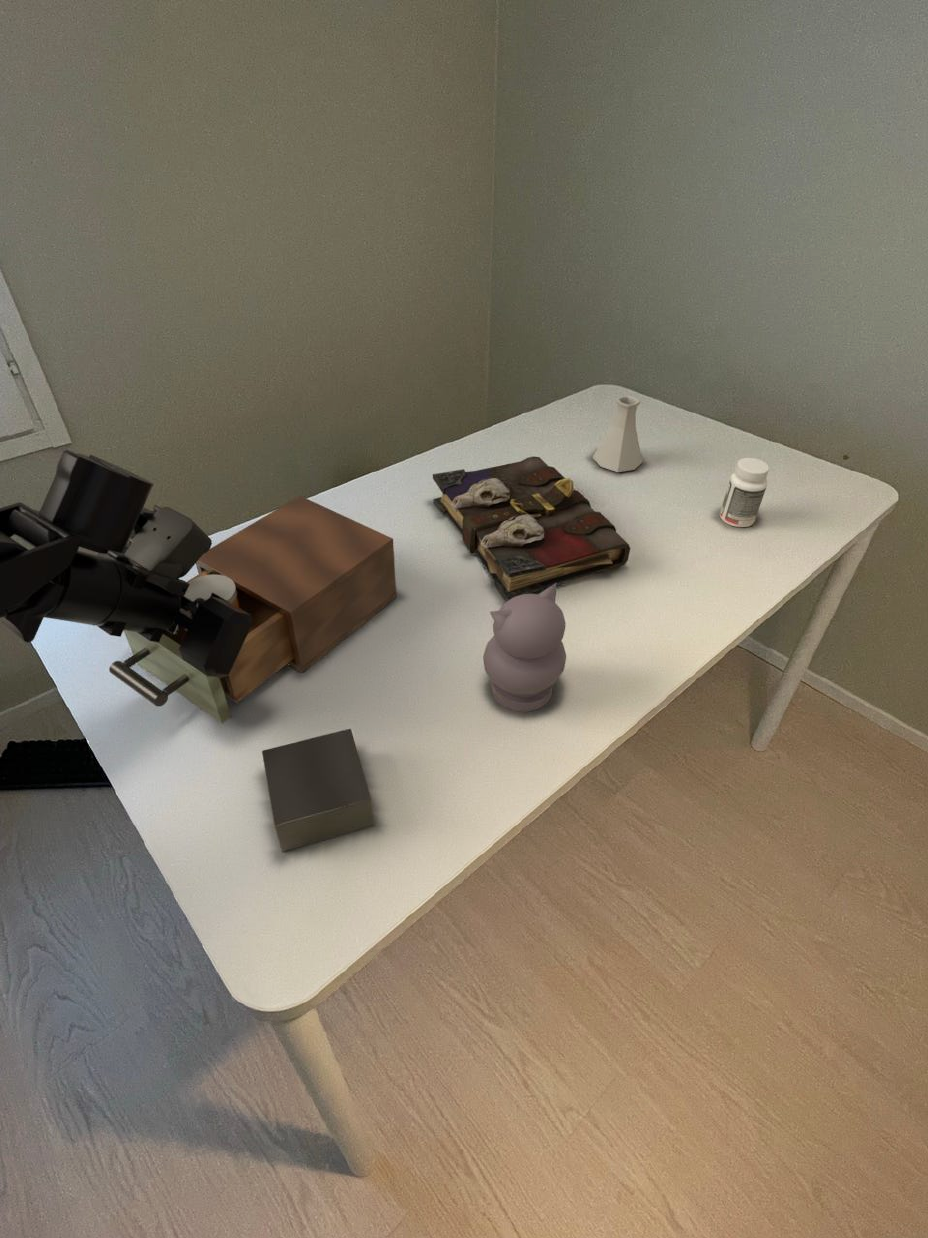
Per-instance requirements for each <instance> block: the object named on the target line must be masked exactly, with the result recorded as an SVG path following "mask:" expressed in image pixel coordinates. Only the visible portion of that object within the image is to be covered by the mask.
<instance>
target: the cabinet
mask: <svg viewBox="0 0 928 1238" xmlns="http://www.w3.org/2000/svg"><path fill="white" fill-rule="evenodd" d="M195 566H196V570H197V574H200V573H202V572H203V571H205V570H207V571H209V572H211V573H212V574H215V575H223V576H226V577H228V578H230V579H231V580H232V581H233V582H234V583H235V586H236V587H237V588H239V589H240V590H242V591H244V592H246V593H247V594H249V595H251V596H253V597H254V598H256V599H258V600H260V601H261V602H263V603H265V604H267V605H268V606H270V607H272V608H274V609H275V610H277V611H279V612H281V613H282V614H284V615H286V617H287V622H288V627H289V632H290V637H291V642H292V647H293V652H294V657H295V658H294V659H293V660H291V661H290V662H289V663H287V664H286V665H288V666H289V667H291V668H293V669H295V670H296V671H298V672H300V673H301V674H304V673H305V671H307V670H308V669H310V667H312V666H313V665H314V664H316V663H317V662H318V661H319V660H321V659H322V658H323V657H324V656H325V655H327V654H328V653H329V652H330V651H332V650H333V649H334V648H335V647H336V646H338V645H340V643H342V642H343V641H345V639H347V638H348V637H349V636H350V635H352V634H353V633H354V632H355V631H356V630H358V629H360V628H361V627H362V626H363V625H364V624H366V623H367V622H368V621H370V619H372V618H373V617H374V616H375V615H376V614H378V613H379V612H380V611H382V610H383V609H384V608H386V606H388V605H389V604H390V603H391V602H393V601H394V600H395V599H396V598H397V583H396V566H395V549H394V538H393V537H390V536H388V535H387V534H384V533H381V532H380V531H377V530H376V529H373V528H371V527H368V526H367V525H365V524H362V523H360V522H358V521H356V520H354V519H352V518H349V517H347V516H345V515H343V514H341V513H338V512H337V511H335V510H332V509H330V508H328V507H325V506H323V505H321V504H319V503H318V502H315V501H313V500H310V499H309V498H307V497H304V496H302V495H298V496H297V497H295V498H293V499H292V500H289V501H288V502H286V503H285V504H283V505H281V506H280V507H278V508H276V509H275V510H273V511H271V512H270V513H268V514H267V515H264V516H263V517H261V518H260V519H258V520H256V521H254V522H253V523H251V524H250V525H248V526H246V527H244V528H243V529H240V530H239V531H238V532H235V533H233V535H231V536H229V537H228V538H226V539H224V540H222V541H221V542H218V543H217V544H215V545H214V546H211V547H210V549H209V550H208V552H207V553H205V554H203V555H202V556H201V557H200V559H199V560H198V561H197V562H196V563H195Z"/></svg>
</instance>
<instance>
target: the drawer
mask: <svg viewBox="0 0 928 1238" xmlns="http://www.w3.org/2000/svg"><path fill="white" fill-rule="evenodd" d="M205 575H213V574H212V573H211V572H209V571H207V570H205V571H203V572H202V573H200V574H199V573H197V575H195V576H193V577H192V578H190V579H189V580H187V581H186V582H187V583H189V582H190V581H192V580H193V579H196V578H198V577H201V576H205ZM236 590H237V598H238V602H239V606H240V609H242V610H243V611H245V612H247V613H249V614H250V615H251V617H252V622H253V624H252V626H251V628H250V630H249V632H248V635H247V637H246V639H245V641H244V643H243V645H242V648H241V650H240V652H239V654H238V656H237V658H236V661H235V663H234V665H233V667H232V669H231V671H230V674H229V675H227V676H225V677H223V678H220V677H210V676H206V675H205V674H203V673H202V672H200V671H199V670H197V669H196V668H194V667H193V666H191V665H190V664H188V663H187V662H185V661H184V660H182V657H181V654H180V651H179V648H180V646H181V644H182V641H183V639H184V637H185V635H186V633H187V630H185V628H183V627H182V626H180V628H179V631H178V633H177V634H172V633H170V632H169V631H167V630H166V629H165V630H164V633H163V635H162V637H161V639H160V641H159V642H152V641H149V640H148V639H146V638H145V637H143V636H142V635H140V634H139V633H137V632H133V631H127V630H123V633H124V636H125V638H126V640H127V643H128V645H129V649H130V650H131V652H132V655H131V656H130V657H128V658H127V659H125V660H124V661H121V660H116V661H114V662H112V663H111V664H110V666H109V668H108V669H109V670H108V671H109V673H110V674H111V675H112V676H114V677H115V678H117V679H118V680H120V681H121V682H122V683H124V684H125V685H127V686H128V687H129V688H131V689H132V690H133V691H135V692H136V693H137V694H139V695H140V696H142V697H143V698H144V699H145V700H147V701H148V702H149V703H151V704H152V705H154V706H155V707H157V708H159V707H163V706H164V705H165V704H167V702H168V700H169V696H170V695H172V694H173V693H174V692H176V693H177V694H179V695H180V696H182V697H183V698H184V699H186V700H187V701H189V702H190V703H192V704H193V705H195V706H196V707H197V708H198V709H200V710H202V711H203V712H204V713H206V714H207V715H209V716H210V717H211V718H213V719H215V720H216V722H217V721H218V722H219V723H220V724H224V723H225V722H227V721H228V720H229V719H231V718H232V713H231V710H230V708H229V704H228V701H227V698H229V699H230V700H231V701H233V702H235V703H239V702H240V701H242V699H244V698H245V697H246V696H248V695H249V694H250V693H252V692H253V691H254V690H256V689H257V688H258V687H259V686H260V685H262V684H263V683H264V682H266V681H268V679H269V678H271V677H272V676H274V675H275V674H276V673H277V672H278V671H280V670H281V669H282V668H284V667H285V666H286V665H288V664H287V663H289V662H290V661H291V660H293V659H294V658H295V657H294V652H293V647H292V642H291V637H290V632H289V627H288V622H287V617H286V615H284V614H282V613H281V612H279V611H277V610H275V609H274V608H272V607H270V606H268V605H267V604H265V603H263V602H261V601H260V600H258V599H256V598H254V597H253V596H251V595H249V594H247V593H246V592H244V591H242V590H240V589H239V588H237V587H236ZM134 665H138V666H139V667H140V668H142V669H143V670H144V671H146V672H148V673H149V674H150V675H152V676H153V677H154V678H156V679H158V680H159V681H160V682H162V683H163V684H165V685H166V686H165V687H164V688H162V689H160V688H159V687H158V686H156V685H155V684H154V683H152V682H151V681H150V680H148V679H146V678H145V677H144V676H142V675H141V674H140V673H138V672H137V671H135V670H134V669H132V668H131V667H133V666H134ZM226 697H227V698H226Z"/></svg>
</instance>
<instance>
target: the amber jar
mask: <svg viewBox="0 0 928 1238" xmlns="http://www.w3.org/2000/svg"><path fill="white" fill-rule="evenodd" d="M189 584H190V585H189V587H188V589H187V591H186V594H185V596H186V597H187V598H189V599H191V600H192V601H194V600H196V599H197V598H203V599H205V600H207V599H208V598H210V596H211V594H212V592H213V593H215V594H216V595H218V596H220V597H221V598H223V599H225V600H227V601H228V602H230V603H231V604H233V605H235V606H237V607H238V608H240V606H239V602H238V598H237V590H236V586H235V583H234V582H233V581H232V580H231V579H230V578H228V577H226V576H223V575H215V574H213V575H205V576H201V577H198V578H196V579H193V580H192V581H190V582H189ZM185 610H186V609H185ZM187 612H189V611H187ZM189 613H190V612H189ZM190 614H192V613H190Z"/></svg>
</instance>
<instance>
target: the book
mask: <svg viewBox="0 0 928 1238" xmlns="http://www.w3.org/2000/svg"><path fill="white" fill-rule="evenodd" d="M432 480H433V481H434V483H435V484H436V486H437V487H438V489H439V490H440V492H441V493H442V494H441V496H440V497H436V498H433V499H432V502H433V505H434V506H435V507H436V508H437V509H438V510H439V511H440V513H441V514H442V515H445V516H446V517H447V519H448V520H449V521H450V523H452V525H453V526H454V527H455V528H456V529H457V531H459V533H460V534H461V535H462V541H463V543H464V545H465V547H466V549H467V550H468V552H469V553H470V554H473V555H474V554H475V555H476V556H477V558H478V559H479V561H480V562H481V563H482V565H483V566H484V568H485V570H486V571H487V573H488V574H489V576H490V577H491V579H492V580H493V583H494V586H495V587H496V589H497V591H498V592H499V594H500V595H501V597H502V599H503V600H504V603H506V602H507V601H509V600H510V599H512V598H514V597H516V596H519V595H523V594H540V593H541V592H543V591H544V590H545V588H546V589H547V588H549V587H551V586H552V585H554V584H555V583H557V585H559V584H561V583H565V582H569V581H573V580H575V579H580V578H581V577H582V578H583V577H586V576H590V575H593V574H597V573H600V572H604V571H609V572H610V571H614V570H618V569H620V568H622V567H623V566H625V565H626V563H627V562H628V561H629V557H630V552H631V547H630V546H631V545H630V544H629V543H628V542H627V541H626V540H625V539H624V538H623V537H622V536H621V535H620V534H619V533H618V532H617V528H616V526H615V525H614V524H613V523H612V522H611V521H610V520H609V519H608V518H607V517H606V516H605V515H604V514H602V513H601V512H600V511H595V510H594V509H593V508H592V505H591V502H590V501H589V500H588V499H587V497H585V495H583V494H582V493H581V492H579V490H577V489H574V480H572V479H571V478H570V477H566V478H565V476H563V474H562V473H561V472H560V471H558V470H557V469H556V468H555V467H554V466H551V465H548V463H546V462H545V461H544V460H543V459H542V458H541V457H540V456H536V455H534V456H529V457H526V458H524V459H522V460H520V461H516V462H511V463H507V464H502V465H501V464H500V465H497V466H491V467H486V468H482V469H477V470H471V471H470V470H469V471H465V468H463V469H462V468H461V469H456V470H449V471H445V472H444V471H443V472H438V473H432Z"/></svg>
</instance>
